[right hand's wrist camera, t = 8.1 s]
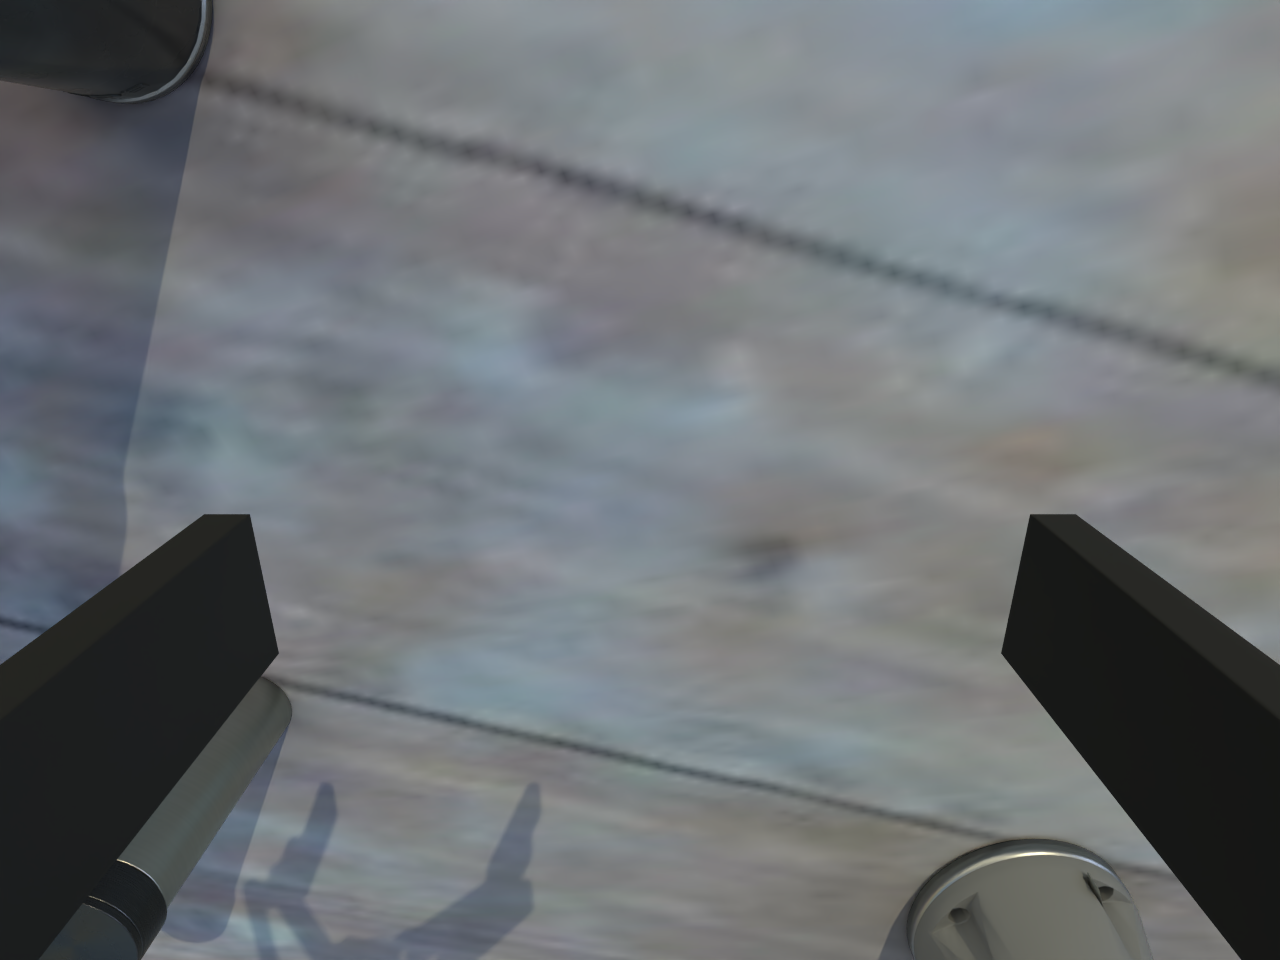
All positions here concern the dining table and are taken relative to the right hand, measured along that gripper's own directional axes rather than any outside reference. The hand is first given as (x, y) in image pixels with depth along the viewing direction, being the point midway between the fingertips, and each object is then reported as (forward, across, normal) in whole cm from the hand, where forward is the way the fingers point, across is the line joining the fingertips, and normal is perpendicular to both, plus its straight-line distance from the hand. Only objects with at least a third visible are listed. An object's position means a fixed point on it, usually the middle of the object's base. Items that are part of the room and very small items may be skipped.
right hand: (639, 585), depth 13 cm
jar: (+27, +24, +24) cm, 43 cm away
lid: (+11, +24, +24) cm, 36 cm away
